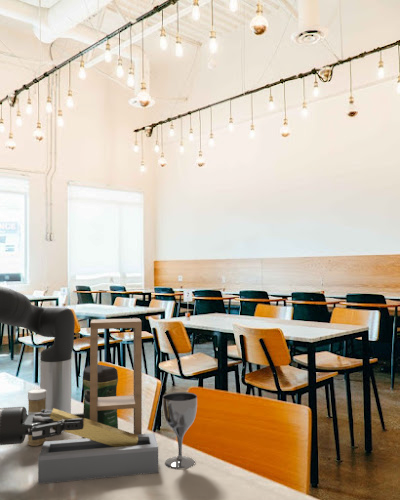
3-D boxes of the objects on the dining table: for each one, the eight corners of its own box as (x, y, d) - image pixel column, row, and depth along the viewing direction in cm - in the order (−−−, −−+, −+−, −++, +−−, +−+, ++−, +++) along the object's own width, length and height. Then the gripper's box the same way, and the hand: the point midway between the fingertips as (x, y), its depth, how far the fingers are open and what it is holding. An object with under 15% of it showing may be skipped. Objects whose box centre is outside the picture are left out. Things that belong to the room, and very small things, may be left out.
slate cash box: (44, 466, 102) (44, 441, 102) (154, 456, 107) (154, 433, 107) (38, 483, 93) (38, 456, 94) (158, 472, 98) (158, 446, 98)
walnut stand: (91, 448, 112) (91, 319, 114) (139, 444, 114) (139, 318, 116) (89, 461, 104) (90, 322, 106) (141, 457, 107) (141, 321, 108)
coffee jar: (123, 434, 122) (123, 365, 123) (99, 442, 116) (99, 370, 117) (101, 426, 128) (101, 361, 129) (77, 434, 122) (77, 365, 123)
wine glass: (184, 472, 98) (184, 402, 99) (155, 465, 102) (155, 397, 103) (203, 460, 105) (203, 394, 105) (176, 453, 109) (175, 390, 110)
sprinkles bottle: (48, 444, 116) (48, 390, 116) (29, 447, 113) (30, 393, 114) (43, 438, 119) (44, 387, 120) (25, 442, 117) (26, 389, 118)
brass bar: (48, 421, 100) (53, 408, 100) (132, 447, 103) (137, 435, 103) (46, 425, 97) (51, 412, 97) (133, 452, 100) (138, 439, 100)
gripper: (-7, 418, 90) (82, 413, 93) (8, 399, 104) (85, 395, 107) (-8, 457, 89) (81, 450, 93) (8, 433, 103) (85, 427, 107)
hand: (83, 421), depth 100 cm, fingers closed on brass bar, 3 cm apart
